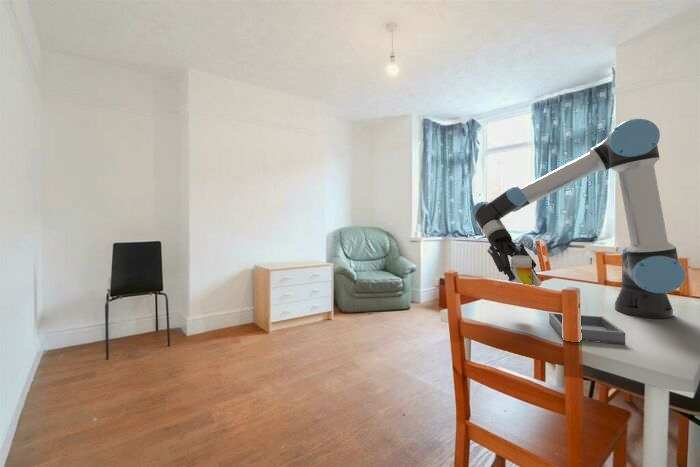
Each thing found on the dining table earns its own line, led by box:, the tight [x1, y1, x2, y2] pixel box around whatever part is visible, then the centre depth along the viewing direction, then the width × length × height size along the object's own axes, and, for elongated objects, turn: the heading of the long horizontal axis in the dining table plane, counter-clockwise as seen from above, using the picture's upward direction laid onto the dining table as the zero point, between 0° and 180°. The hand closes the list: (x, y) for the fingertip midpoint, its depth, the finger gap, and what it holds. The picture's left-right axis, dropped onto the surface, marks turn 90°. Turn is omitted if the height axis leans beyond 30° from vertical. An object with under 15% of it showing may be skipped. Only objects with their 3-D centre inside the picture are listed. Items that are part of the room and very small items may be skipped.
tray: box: [548, 312, 626, 345], centre depth 95 cm, size 15×15×3 cm
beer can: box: [510, 255, 533, 286], centre depth 108 cm, size 6×6×15 cm
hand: (529, 286), depth 105 cm, fingers closed on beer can, 6 cm apart
